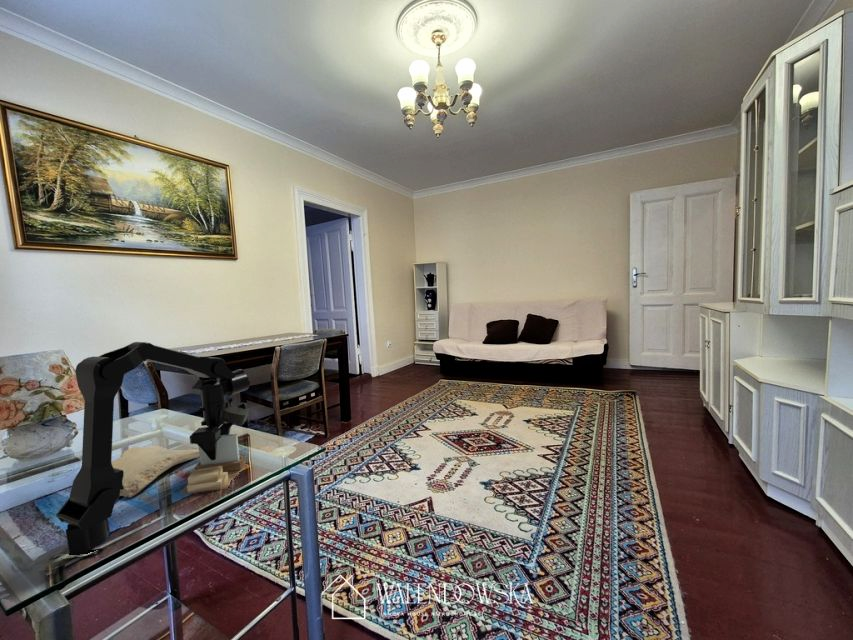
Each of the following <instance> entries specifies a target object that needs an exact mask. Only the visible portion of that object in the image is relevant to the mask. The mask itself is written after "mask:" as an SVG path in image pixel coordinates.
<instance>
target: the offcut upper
mask: <svg viewBox="0 0 853 640" xmlns="http://www.w3.org/2000/svg"><path fill="white" fill-rule="evenodd" d="M222 473H223V470H222V466H217V467H210V468H203V469H197V470H195V469H193V471H192V472H191V473H190V474H189V476H188V477H187V485H188V486H190V485H197V484H203V483H209V482H215V481H218V480H219V478H220V476H221V475H222Z"/></svg>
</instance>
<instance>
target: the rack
mask: <svg viewBox="0 0 853 640" xmlns="http://www.w3.org/2000/svg"><path fill="white" fill-rule="evenodd" d="M239 457H240V461H234V462H225V463H217V464H208V465H201V463H200V461H199V462H198V463H197V464H196V465H195V466H194V469H193V470H197V469H203V468H210V467H217V466H222V470H223V472H228V480H227V481H226V483H225V484H224V486H223V487H222V488H221V489H215V490H214V491H219V490H226V489H229V488H228V486H229V485H230V482H231V480H233V479H234V478H235V477H236V476H237V477H238V476H239V475H240V473H239V471H240V470H241V469H242V468H244V467H245V466H246V464H247V461H246V455H239ZM245 463H246V464H245ZM244 465H245V466H244ZM243 466H244V467H243ZM242 470H243V469H242ZM242 470H241V471H242ZM241 471H240V472H241ZM237 477H236V478H237ZM209 491H213V490H207V491H206V492H209ZM203 492H205V491H199V492H198V493H203ZM194 493H197V492H191V493H190V494H194ZM185 494H189V493H188V489H187V485H185V487H184V488H183V489H182V490H181V492H180V493H179V495H185Z"/></svg>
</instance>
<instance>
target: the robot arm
mask: <svg viewBox="0 0 853 640" xmlns="http://www.w3.org/2000/svg"><path fill="white" fill-rule="evenodd" d="M144 361H147V362H150V363H151V362H152V363H157V364H161V365H166V366H171V367H174V368H178V369H182V370H185V371H187V372H188V373H190V374H191V375H194V376H196V377H199V378H208V380H204V379H198V380H197V381H196V383H194V384H193V386H192V387H191V389H192V390H197V391H198V390H199V391H200V397H201V406H200V407H199V412H203V413H202V414H203V420H202V421H201V422H200V424H201V425H200V426H202V427H198V428H197V429H196V430H195V431H193V432H192V433H191V434H190V436H189V443H190V444H191V445H197V446H198V448H199V447H200V448H201V449H202V450H203V451H204V452H205V453H206V455H207V456H208V457H209V458H210V460H215V459H216V450H217V441H218V440H219V439H220V438H221V437H222V436H221V435H230V433H231V427H232V426H233V425H236V426H243V425H244V424H245V422H247V420H248V416H249V414H250V408H249V407H248V403H246V402H241V403H240V404H239V405H234V406H231V404H230V401H229V400H226V396H227V397H229V396H232V395H236V394H238V393H241V392H244V391H247V390H248V389H249V388H250V386H251V380H250V378H249V376H248V375H247V374H246V373H245V370H244V369H242V368H239V369H236V370H234V371H233V370H231V369H230V368H229V367H228V366H227V365H226V360H224V359H223V358H221V357H211V356H197V355H192V354H189V353H185V352H181V351H177V350H174V349H170V348H165V347H162V346H159V345H155V344H152V343H151V342H148V341H147V342H146V341H144V342H143V341H134V342H131V343H130V344H127V345H125V346H123V347H119V348H117V349H114V350H112V351H108V352H105V353H103V354H101V355H98V356H90V357H89V356H88V357H86V358H84V359H82V360H81V361H80V362H79V363H77V365H76V367H75V369H74V370H75V371H74V373H75V377H76V378H75V379H76V383H77V387H78V389H79V391H80V393H81V396H82V397H83V399H84V405H83V407H84V410H83V426H82V427H83V428H82V430H83V431H82V450H81V451H82V452H81V454H82V455H81V466H80V469H79V471H78V472H77V474H76V476H75V477H74V479H73V481H72V486H71V490H70V493H69V497H68V499H67V500H66V502H65V503H64V504H63V505H62V506H61V508H60V509H59V510H58V512H57V513H56V514H55V516H56V518H57V519H58V520H59V521H60V522H61V523H65V524H67V525H66V526H67V527H66V529H65V535H66V541H67V549H68V553H69V555H80V554H88V553H90V552H94V551H96V550H100V549H101V548H102V547H101V548H96V547H98V546H100V545H102V544H104V542H106V541H107V539H108V538H109V534H108V533H109V532H110V526H109V519H110V518H111V517H112V516H113V511H114V507H115V504H116V501H118V500H119V498H120V497H121V496H120V489H121V490H123V489H124V487H123V485H122V480H123V476H124V472H123V470H119V469H116V468H113V466H112V462H111V461H113V460H112V457H113V456H112V455H113V438H114V437H113V435H114V433H113V431H114V412H115V411H114V410H115V408H114V407H115V397H116V395H117V394H118V392H119V390H120V389H121V388H122V386H123V383H124V377H125V375H126V374H127V373H129V372H131V371H133V370H135V369H136V368H137V367H138V366H140V365H141V364H142V363H143V362H144ZM217 379H218V380H217ZM119 496H120V497H119Z"/></svg>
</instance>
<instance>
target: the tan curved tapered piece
mask: <svg viewBox="0 0 853 640" xmlns="http://www.w3.org/2000/svg"><path fill="white" fill-rule="evenodd" d="M198 458H200V454H199V448H193V449H169V448H165V447H162V446H160V445H150V446H143V447H142V446H133V447H130V448H128V449H126V450H124V451H123V452H122V453H121V455H120V457H118V458H116V459H114V460H112V461H111V462H112V466H113V468H116V469H119V470H123V472H124V476H123V480H122V485H123V487H124V489H123V490H121V489H120V496H119V498H120V497H124V498H133V497H134V496H135V495H137V494H138V493H140V492H141V491H142V490H143V489H144V488H146V487H147V486H148V485H149V484H150V483H151V482H153V481H155V479H157V478H158V477H159V476H160V475H162V474H163V473H164V472H166V471H167V470H169V469H170V468H173V466H176V465H178V464H181V463H184V462H187V461H189V460H193V459H198Z"/></svg>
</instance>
